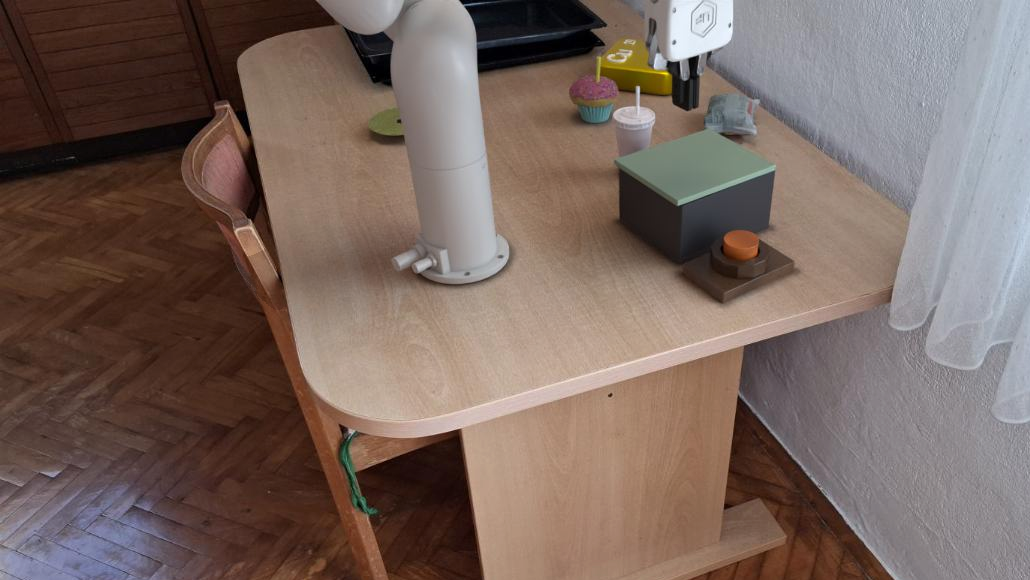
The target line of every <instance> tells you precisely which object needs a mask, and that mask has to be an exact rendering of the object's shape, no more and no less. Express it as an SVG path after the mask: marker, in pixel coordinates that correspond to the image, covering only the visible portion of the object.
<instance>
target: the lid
mask: <svg viewBox="0 0 1030 580" xmlns="http://www.w3.org/2000/svg"><path fill="white" fill-rule="evenodd" d="M613 165H614V166H615V167H617V168H618V169H619V168H620V169H622V170H623V171H625V172H626V173H628V174H629V175H631V176H632V177H634V178H635V179H637V180H638V181H640V182H641V183H643V184H644V185H646V186H648V187H649V188H651V189H652V190H654V191H655V192H657V193H658V194H660V195H661V196H663V197H664V198H666V199H667V200H669V201H670V202H672V203H673V204H675V205H676V206H679V205H682V204H685V203H688V202H690V201H693V200H696V199H698V198H701V197H704V196H707V195H709V194H712V193H715V192H717V191H720V190H723V189H725V188H728V187H731V186H734V185H736V184H739V183H742V182H744V181H747V180H750V179H753V178H755V177H758V176H761V175H763V174H766V173H769V172H772V171H774V170H775V171H776V168H777V165H776V164H775V163H773V162H771V161H769V160H768V159H766V158H764V157H762V156H760V155H758V154H757V153H755V152H753V151H751V150H749V149H748V148H746V147H744V146H742V145H740V144H738V143H736V142H735V141H734V140H733V141H732V140H731V139H729V138H727V137H726V136H725V135H721V134H718V133H716V132H714V131H713V130H711V129H706V130H705V129H703V130H700V131H697V132H694V133H691V134H688V135H684V136H682V137H678V138H675V139H672V140H669V141H666V142H663V143H660V144H657V145H653V146H651V147H649V148H647V149H644V150H641V151H638V152H635V153H632V154H629V155H626V156H623V157H620V158H619V157H616V158H614V159H613Z"/></svg>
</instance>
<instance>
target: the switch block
mask: <svg viewBox="0 0 1030 580" xmlns="http://www.w3.org/2000/svg"><path fill="white" fill-rule="evenodd" d="M723 241H724V236H723V237H721V238H718V239H716V240H715V242H714V243H713V244H712V246H711V249H710V253H707V254H705V255H702V256H700V257H698V258H695V259H693V260H690V261H688V262H686V263H683V264H682V275H684V277H686V278H688V279H689V280H690V281H691V282H693V283H694V284H696V285H697V286H699V288H701V289H703V290H704V291H705V292H707V293H708V294H709V295H711V296H712V297H713V298H715V299H716V300H717V301H719V302H720V303H721V304H725V303H727V302H730V301H732V300H734V299H736V298H739V297H741V296H743V295H745V294H747V293H750V292H752V291H754V290H756V289H758V288H761V287H762V286H764V285H767V284H769V283H771V282H773V281H776V280H778V279H780V278H782V277H785V276H787V275H790V274H791V273H793V272H794V271H795V264H796V261H795V260H794V259H792V258H790V257H789V256H787V255H785V254H784V253H782V252H781V251H779V250H778V249H776V248H775V247H773V246H771V245H770V244H768V243H767V242H765V241H763V240H762V239H761V238H759V245H758V254H757V256H756V257H755V258H753V259H751V260H743V261H738V260H734V259H730V258H728V257H726V256H725V255H724V254H723Z"/></svg>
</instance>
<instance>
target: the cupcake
mask: <svg viewBox="0 0 1030 580" xmlns="http://www.w3.org/2000/svg"><path fill="white" fill-rule="evenodd" d="M601 57H602V56H601V52H599V53H598V56H597V57H596V66H595V67H596V68H595V74H588V75H584V76H581V77H580V78H579V79H577V80H575V81H574V82H573V83H572V84H571V86H570V87H569V89H568V95H569V98H570V100H571V102H572V103H573V104H574V105H576V106H577V108H578V110H579V113H580V116H581V119H582V120H583V121H584V122H586V123H590V124H591V123H592V124H600V123H604V122H606V121H608V120H609V118H610V115H611V112H612V109H613V107H614V104H615V103H616V101H617V100H618V99H619V96H620V92H619V90H618V87H617V86H618V85H617V84H616V83H615V82H614V81H613V80H610V79H609V78H607V77H602V76H601V77H600V65H601Z"/></svg>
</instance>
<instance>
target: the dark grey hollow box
mask: <svg viewBox="0 0 1030 580" xmlns="http://www.w3.org/2000/svg"><path fill="white" fill-rule="evenodd" d="M775 177H776V169H775V170H774V171H772V172H769V173H766V174H763V175H761V176H758V177H755V178H753V179H750V180H747V181H744V182H742V183H739V184H736V185H734V186H731V187H728V188H725V189H723V190H720V191H717V192H715V193H712V194H709V195H707V196H704V197H701V198H698V199H696V200H693V201H690V202H688V203H685V204H682V205H679V206H676V205H675V204H673V203H672V202H670V201H669V200H667V199H666V198H664V197H663V196H661V195H660V194H658V193H657V192H655V191H654V190H652V189H651V188H649V187H648V186H646V185H644V184H643V183H641V182H640V181H638V180H637V179H635V178H634V177H632V176H631V175H629V174H628V173H626V172H625V171H623V170H622V169H620V168H619V167H618V222H620V223H621V224H623V225H624V226H625V227H627V228H628V229H629V230H630V231H632V232H633V233H635V234H636V235H638V236H639V237H640V238H642V239H643V240H644V241H646V242H647V243H648V244H650V245H651V246H653V247H654V248H655V249H657V250H658V251H660V252H661V253H662V254H663V255H665V256H666V257H668V258H669V259H670V260H672V261H673V262H674V263H676V264H677V265H678V266H680V265H681V266H682V265H683V264H684V263H686V262H689V261H691V260H694V259H696V258H698V257H701V256H703V255H706V254H708V253H710V249H711V246H712V244H713V243H714V242H715V240H716V239H718V238H721V237H723V236H725V235H726V234H727V233H728V232H731V231H735V230H745V231H749V232H752V233H754V234H755V235H756V234H757V233H759V232H762V231H765V230H767V229H769V227H770V226H769V225H770V217H771V209H772V202H773V193H774V186H775V185H774V184H775Z"/></svg>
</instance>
